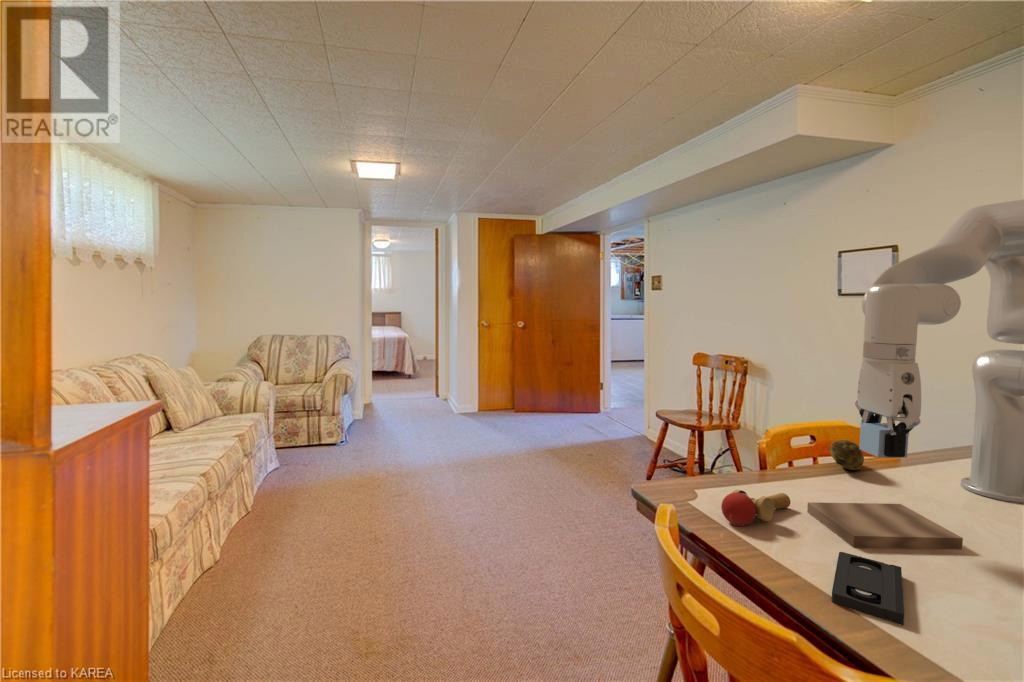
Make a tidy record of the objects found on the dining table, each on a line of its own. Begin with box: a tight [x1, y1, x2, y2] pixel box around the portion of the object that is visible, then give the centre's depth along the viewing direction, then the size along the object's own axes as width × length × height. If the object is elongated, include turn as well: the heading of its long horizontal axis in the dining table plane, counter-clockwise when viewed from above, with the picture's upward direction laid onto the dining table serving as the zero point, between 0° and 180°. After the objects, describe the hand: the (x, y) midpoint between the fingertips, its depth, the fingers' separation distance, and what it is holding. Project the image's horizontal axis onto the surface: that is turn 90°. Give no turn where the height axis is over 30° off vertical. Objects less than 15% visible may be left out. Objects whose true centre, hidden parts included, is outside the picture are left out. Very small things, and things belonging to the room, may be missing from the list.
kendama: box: [720, 489, 791, 527], centre depth 95 cm, size 8×6×18 cm
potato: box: [829, 439, 865, 471], centre depth 121 cm, size 8×13×8 cm, turn 127°
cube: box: [858, 422, 909, 459], centre depth 88 cm, size 5×5×5 cm
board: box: [807, 501, 964, 550], centre depth 89 cm, size 18×14×2 cm
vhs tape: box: [831, 551, 905, 626], centre depth 71 cm, size 14×8×2 cm, turn 142°
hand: (882, 450), depth 88 cm, fingers closed on cube, 5 cm apart
